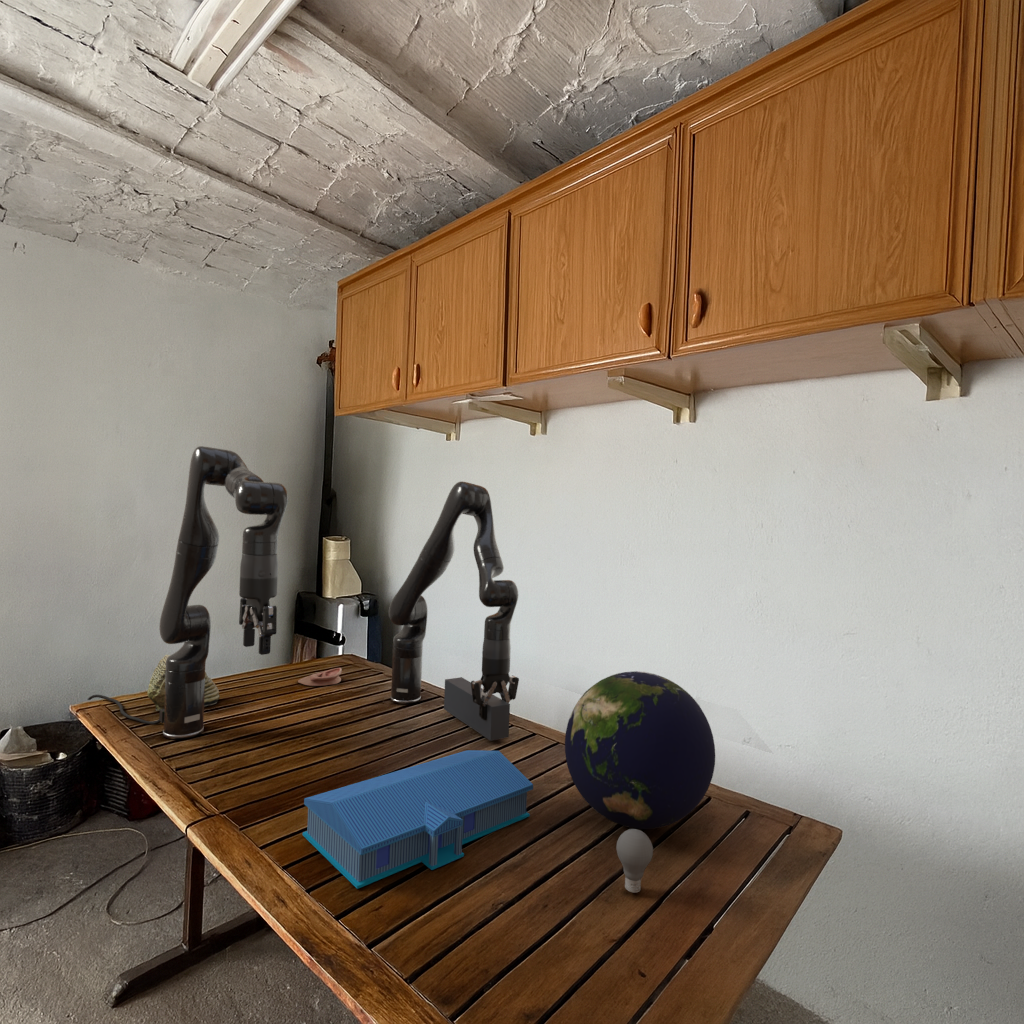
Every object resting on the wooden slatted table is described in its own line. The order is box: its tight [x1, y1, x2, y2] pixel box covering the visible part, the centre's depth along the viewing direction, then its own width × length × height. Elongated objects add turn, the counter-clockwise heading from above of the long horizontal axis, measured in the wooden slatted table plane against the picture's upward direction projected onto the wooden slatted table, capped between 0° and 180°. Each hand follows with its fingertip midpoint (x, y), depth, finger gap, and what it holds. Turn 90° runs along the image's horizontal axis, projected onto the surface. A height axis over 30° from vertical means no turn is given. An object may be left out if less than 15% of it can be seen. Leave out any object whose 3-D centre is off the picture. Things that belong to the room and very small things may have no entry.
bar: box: [443, 676, 511, 742], centre depth 178 cm, size 28×6×9 cm, turn 32°
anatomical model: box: [297, 667, 343, 687], centre depth 214 cm, size 13×4×12 cm
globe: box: [564, 670, 716, 830], centre depth 129 cm, size 30×30×30 cm
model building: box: [302, 749, 534, 890], centre depth 123 cm, size 39×24×10 cm, turn 132°
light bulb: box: [615, 828, 654, 894], centre depth 106 cm, size 6×6×10 cm
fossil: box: [147, 654, 221, 712], centre depth 185 cm, size 9×18×15 cm, turn 132°
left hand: (256, 650), depth 136 cm, fingers open, 8 cm apart
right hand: (493, 717), depth 170 cm, fingers closed on bar, 5 cm apart
